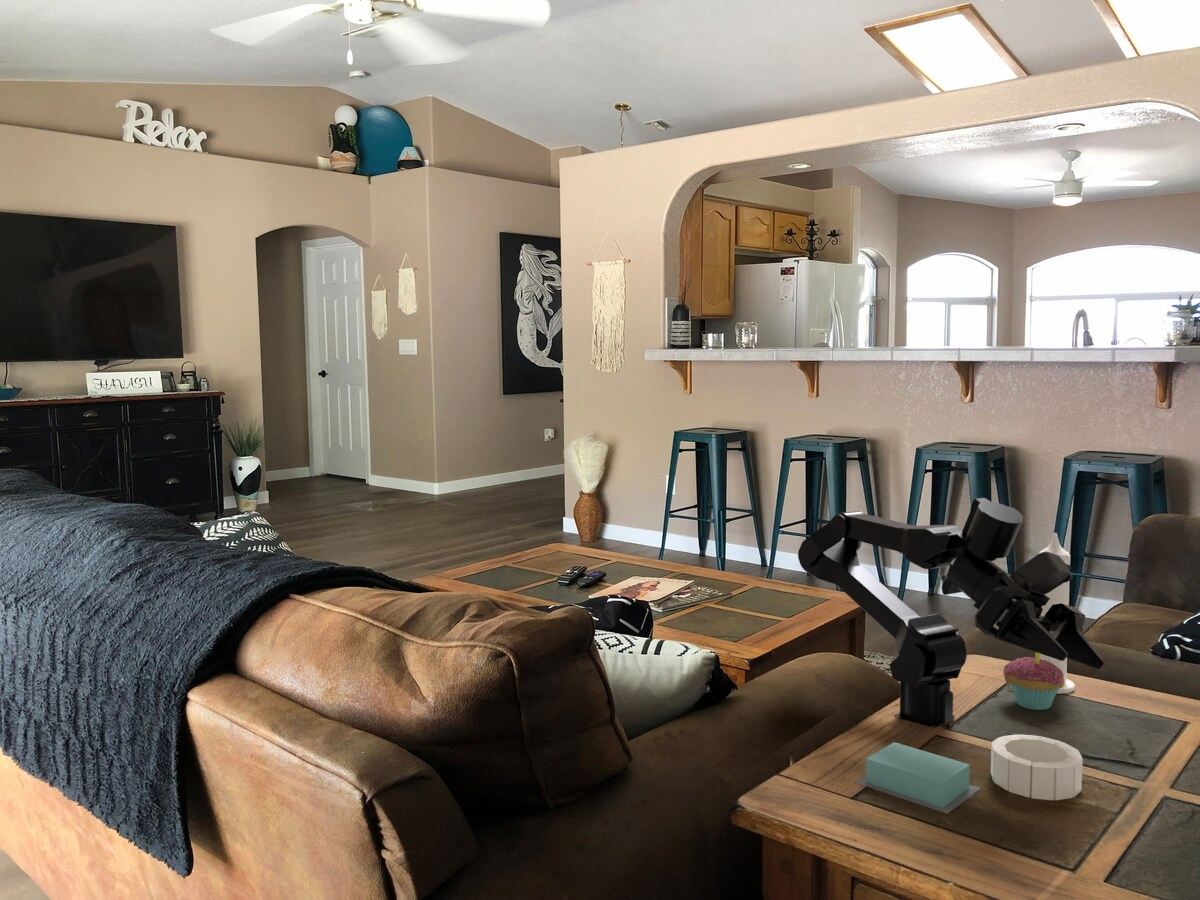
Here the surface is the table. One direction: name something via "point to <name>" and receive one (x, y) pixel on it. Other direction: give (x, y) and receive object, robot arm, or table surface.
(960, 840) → the table surface
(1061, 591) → the candle
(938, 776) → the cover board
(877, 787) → the mat
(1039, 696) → the cupcake
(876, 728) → the table surface
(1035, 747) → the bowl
